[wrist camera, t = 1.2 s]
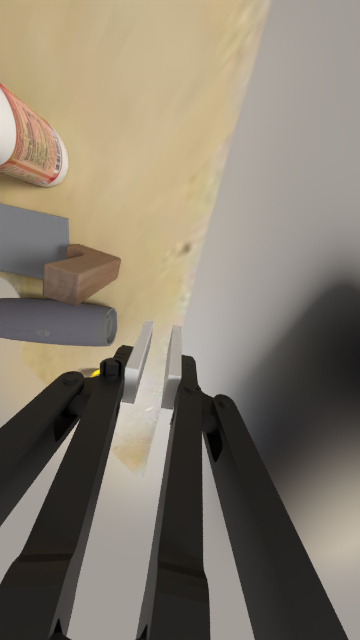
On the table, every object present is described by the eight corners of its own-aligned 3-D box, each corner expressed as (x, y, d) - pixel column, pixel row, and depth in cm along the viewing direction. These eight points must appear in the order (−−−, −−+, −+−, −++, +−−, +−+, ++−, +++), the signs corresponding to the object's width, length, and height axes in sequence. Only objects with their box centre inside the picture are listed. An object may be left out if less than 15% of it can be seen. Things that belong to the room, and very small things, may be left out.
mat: (-19, 199, 36) (-23, 198, 35) (68, 218, 37) (66, 218, 36) (-6, 268, 41) (-9, 269, 40) (70, 283, 42) (68, 284, 42)
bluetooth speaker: (26, 326, 47) (-11, 348, 38) (16, 289, 43) (-28, 304, 34) (119, 334, 47) (105, 358, 38) (118, 298, 44) (101, 315, 35)
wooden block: (75, 265, 41) (4, 286, 24) (78, 243, 39) (2, 250, 22) (117, 278, 42) (76, 307, 25) (121, 258, 40) (79, 275, 24)
